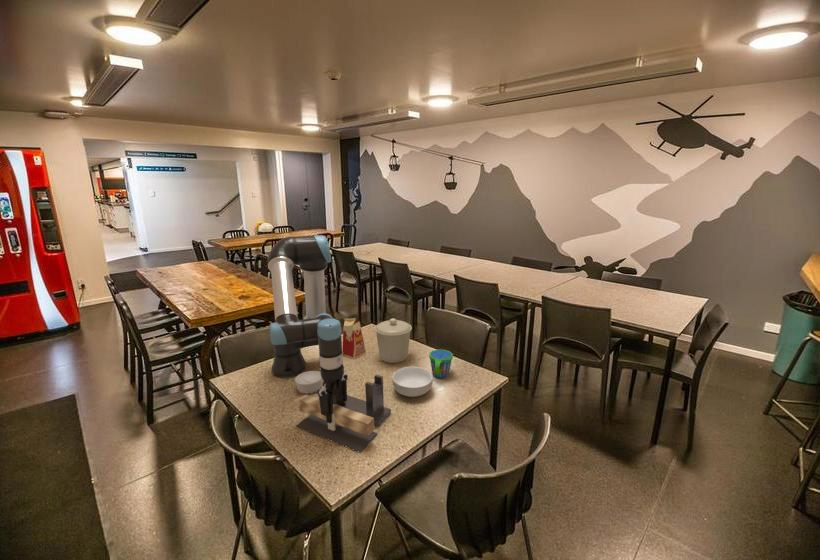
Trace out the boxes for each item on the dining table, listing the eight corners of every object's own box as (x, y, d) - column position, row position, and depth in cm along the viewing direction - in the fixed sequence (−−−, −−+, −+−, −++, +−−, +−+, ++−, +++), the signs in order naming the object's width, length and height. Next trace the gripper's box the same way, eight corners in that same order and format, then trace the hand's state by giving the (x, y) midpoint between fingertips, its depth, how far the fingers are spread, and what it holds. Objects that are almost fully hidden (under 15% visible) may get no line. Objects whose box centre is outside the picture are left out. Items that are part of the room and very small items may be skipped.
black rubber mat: (296, 427, 131) (296, 425, 131) (315, 412, 140) (315, 410, 140) (360, 452, 119) (360, 451, 118) (377, 434, 127) (377, 433, 127)
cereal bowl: (384, 390, 155) (384, 374, 153) (414, 376, 165) (414, 362, 163) (410, 408, 142) (410, 391, 140) (441, 392, 152) (441, 377, 151)
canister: (369, 364, 177) (368, 323, 171) (383, 348, 193) (382, 310, 188) (405, 369, 171) (405, 327, 166) (416, 353, 188) (416, 314, 183)
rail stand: (321, 407, 143) (318, 371, 139) (336, 395, 151) (334, 361, 147) (378, 427, 131) (376, 388, 127) (391, 413, 139) (390, 376, 135)
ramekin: (291, 394, 152) (290, 383, 151) (302, 380, 163) (301, 369, 161) (317, 396, 150) (316, 385, 149) (327, 382, 161) (326, 371, 160)
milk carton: (366, 352, 189) (364, 315, 184) (354, 359, 182) (352, 321, 177) (352, 348, 194) (350, 312, 189) (340, 355, 186) (338, 318, 181)
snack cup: (435, 365, 176) (435, 345, 173) (456, 369, 172) (457, 349, 169) (423, 380, 162) (423, 359, 159) (446, 385, 158) (446, 364, 155)
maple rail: (299, 410, 133) (298, 399, 132) (306, 405, 136) (305, 394, 135) (368, 435, 120) (367, 423, 119) (374, 429, 123) (374, 417, 122)
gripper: (323, 379, 114) (328, 443, 120) (355, 357, 128) (358, 415, 134) (305, 373, 117) (310, 436, 123) (338, 352, 132) (342, 410, 138)
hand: (335, 425), depth 129 cm, fingers closed on maple rail, 4 cm apart
